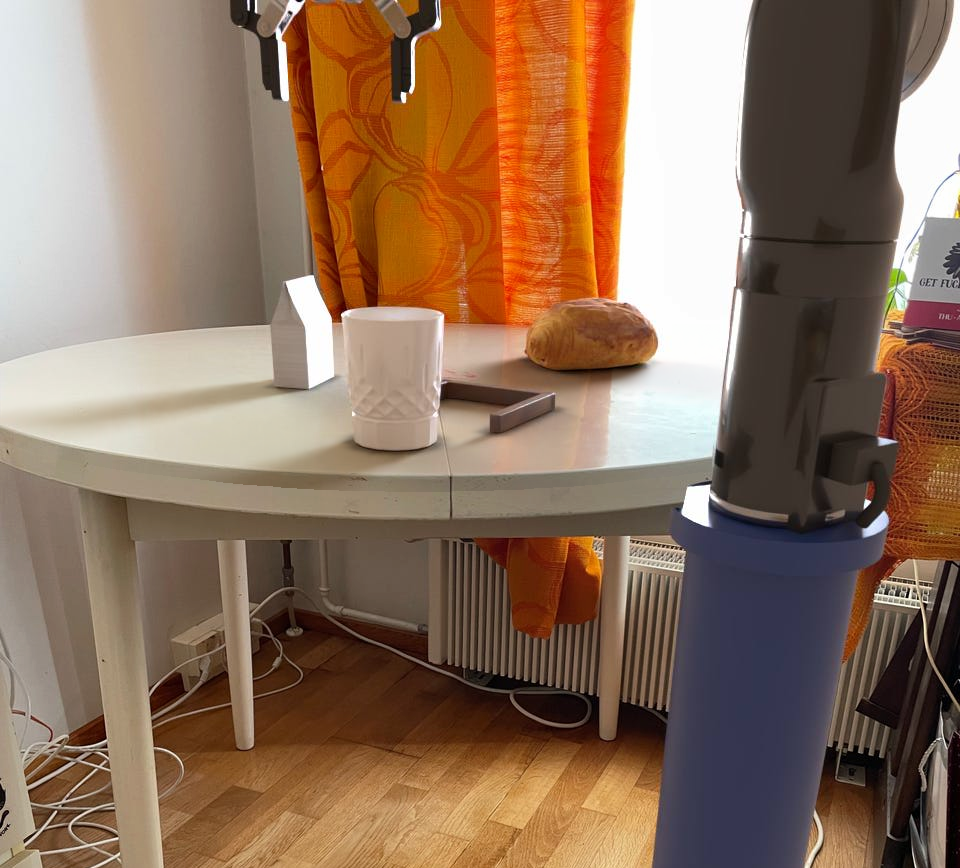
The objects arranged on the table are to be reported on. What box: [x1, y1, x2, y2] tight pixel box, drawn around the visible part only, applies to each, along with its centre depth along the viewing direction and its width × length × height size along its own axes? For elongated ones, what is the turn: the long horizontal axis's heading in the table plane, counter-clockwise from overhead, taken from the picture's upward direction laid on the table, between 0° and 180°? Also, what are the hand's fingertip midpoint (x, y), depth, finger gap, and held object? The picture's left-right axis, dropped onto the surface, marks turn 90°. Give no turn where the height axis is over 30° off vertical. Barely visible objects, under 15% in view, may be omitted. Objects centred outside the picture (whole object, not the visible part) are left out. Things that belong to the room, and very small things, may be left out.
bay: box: [440, 378, 556, 434], centre depth 93 cm, size 11×12×2 cm
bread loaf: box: [523, 297, 659, 371], centre depth 116 cm, size 14×16×8 cm
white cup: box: [341, 306, 445, 452], centre depth 81 cm, size 8×8×10 cm
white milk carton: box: [269, 275, 335, 390], centre depth 103 cm, size 4×7×10 cm, turn 166°
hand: (339, 101), depth 73 cm, fingers open, 8 cm apart
